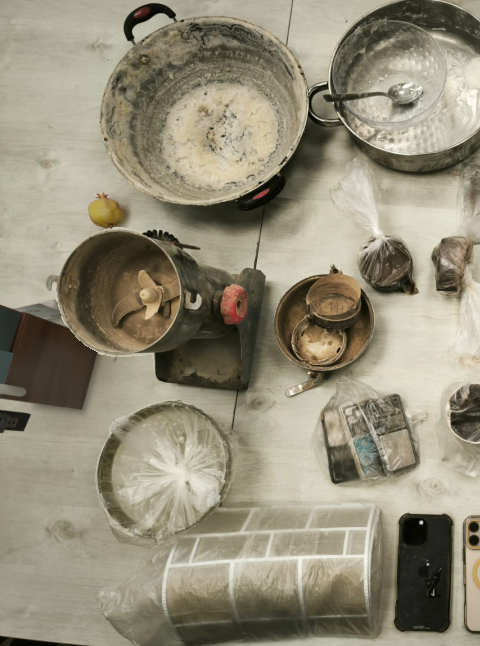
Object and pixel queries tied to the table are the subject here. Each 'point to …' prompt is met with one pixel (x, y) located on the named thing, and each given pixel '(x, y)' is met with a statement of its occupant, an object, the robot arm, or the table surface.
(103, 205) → the fruit
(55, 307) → the ink box
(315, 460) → the table surface
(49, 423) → the table surface
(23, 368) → the cabinet
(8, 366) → the door
